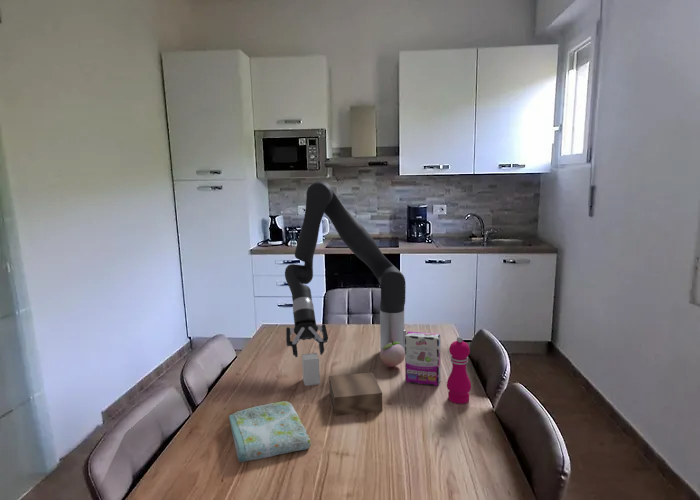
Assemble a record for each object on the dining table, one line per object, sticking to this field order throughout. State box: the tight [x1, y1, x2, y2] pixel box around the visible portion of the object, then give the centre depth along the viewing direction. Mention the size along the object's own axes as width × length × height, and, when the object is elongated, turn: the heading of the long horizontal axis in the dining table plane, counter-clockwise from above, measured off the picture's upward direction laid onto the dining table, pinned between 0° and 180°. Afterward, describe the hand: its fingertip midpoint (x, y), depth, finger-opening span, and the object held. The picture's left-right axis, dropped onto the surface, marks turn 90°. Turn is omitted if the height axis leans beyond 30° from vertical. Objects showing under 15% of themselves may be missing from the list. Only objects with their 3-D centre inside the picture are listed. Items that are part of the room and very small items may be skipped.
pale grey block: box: [301, 352, 321, 387], centre depth 151 cm, size 5×5×9 cm
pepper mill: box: [446, 336, 472, 405], centre depth 136 cm, size 7×7×20 cm
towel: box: [228, 400, 312, 463], centre depth 120 cm, size 18×21×5 cm
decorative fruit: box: [379, 341, 405, 368], centre depth 160 cm, size 9×8×10 cm
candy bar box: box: [404, 331, 442, 387], centre depth 148 cm, size 11×5×16 cm, turn 71°
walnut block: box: [328, 371, 383, 417], centre depth 137 cm, size 14×14×6 cm
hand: (309, 355), depth 152 cm, fingers open, 8 cm apart
